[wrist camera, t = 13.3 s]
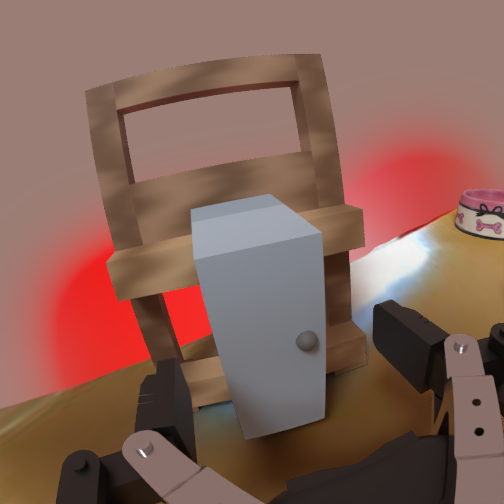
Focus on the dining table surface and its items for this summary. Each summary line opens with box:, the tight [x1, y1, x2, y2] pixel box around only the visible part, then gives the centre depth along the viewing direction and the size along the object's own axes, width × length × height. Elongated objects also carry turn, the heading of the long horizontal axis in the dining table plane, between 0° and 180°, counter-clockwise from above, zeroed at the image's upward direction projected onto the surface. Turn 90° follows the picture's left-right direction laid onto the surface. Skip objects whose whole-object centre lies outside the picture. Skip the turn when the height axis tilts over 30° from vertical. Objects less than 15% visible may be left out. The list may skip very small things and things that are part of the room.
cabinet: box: [191, 194, 326, 440], centre depth 17 cm, size 5×9×12 cm, turn 11°
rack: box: [85, 54, 368, 412], centre depth 21 cm, size 17×6×24 cm, turn 101°
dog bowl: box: [455, 189, 504, 241], centre depth 46 cm, size 18×19×7 cm
